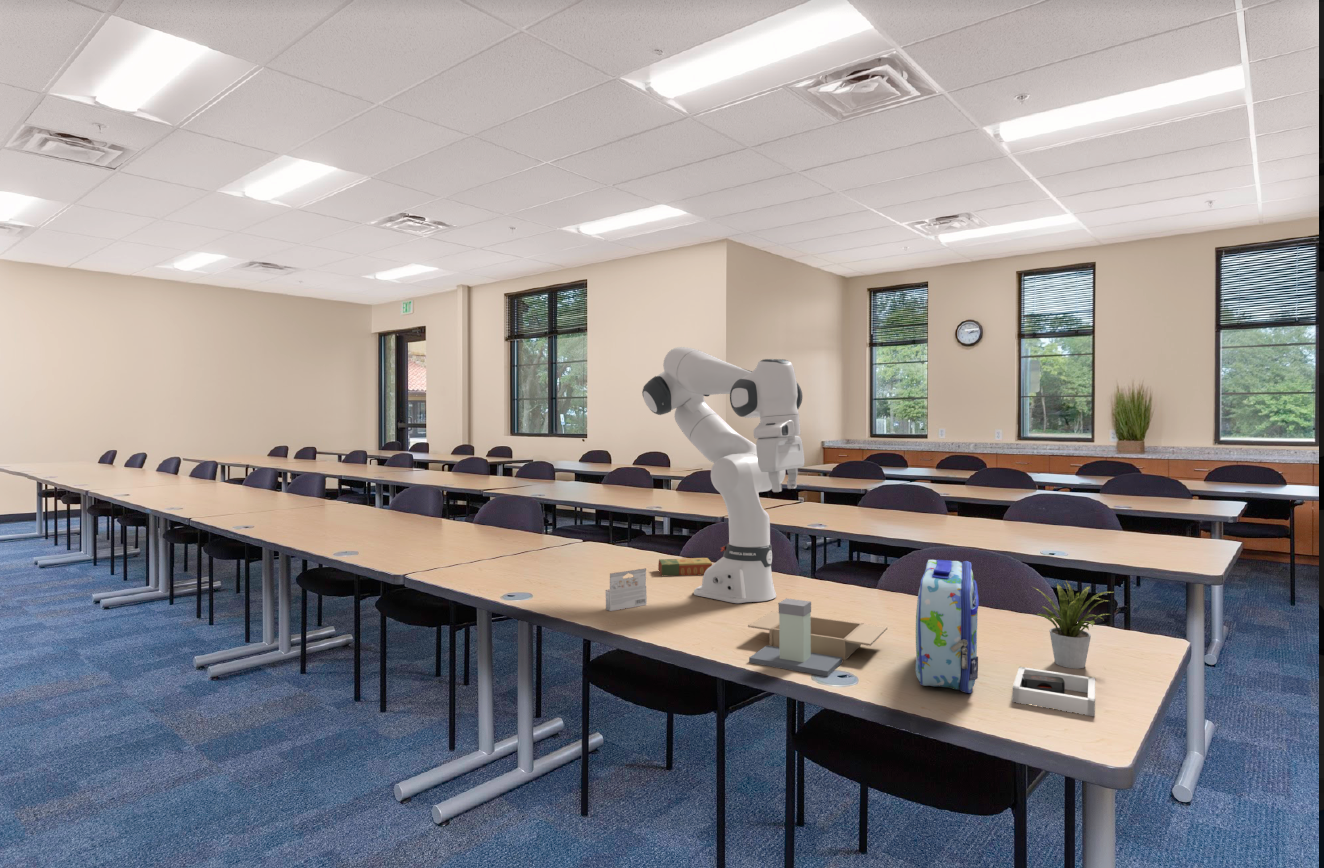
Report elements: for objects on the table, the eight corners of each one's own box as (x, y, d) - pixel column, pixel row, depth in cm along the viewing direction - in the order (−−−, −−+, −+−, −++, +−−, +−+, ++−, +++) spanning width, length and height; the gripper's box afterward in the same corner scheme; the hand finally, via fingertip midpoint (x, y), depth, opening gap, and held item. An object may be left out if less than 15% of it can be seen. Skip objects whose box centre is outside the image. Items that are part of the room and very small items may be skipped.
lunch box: (979, 703, 123) (979, 580, 123) (912, 694, 128) (912, 575, 127) (977, 656, 148) (977, 553, 147) (920, 650, 152) (920, 550, 151)
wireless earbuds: (1016, 691, 129) (1016, 673, 129) (1062, 696, 127) (1062, 677, 127) (1020, 701, 125) (1020, 682, 125) (1067, 706, 123) (1067, 686, 122)
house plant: (1138, 674, 136) (1139, 587, 136) (1079, 682, 133) (1080, 593, 132) (1075, 651, 150) (1075, 572, 150) (1020, 658, 146) (1020, 576, 146)
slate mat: (749, 662, 145) (749, 657, 145) (766, 650, 153) (766, 645, 153) (827, 676, 137) (827, 671, 137) (842, 662, 144) (842, 657, 144)
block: (778, 658, 144) (778, 603, 144) (786, 652, 148) (786, 598, 148) (804, 662, 141) (803, 606, 141) (811, 656, 145) (811, 601, 145)
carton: (712, 575, 226) (712, 562, 226) (661, 577, 225) (661, 563, 225) (707, 570, 235) (707, 556, 235) (658, 571, 233) (658, 558, 233)
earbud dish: (1012, 702, 124) (1012, 687, 124) (1019, 680, 134) (1019, 666, 134) (1094, 716, 118) (1094, 701, 117) (1095, 692, 128) (1095, 678, 128)
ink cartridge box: (605, 609, 186) (604, 571, 186) (642, 603, 192) (641, 566, 192) (609, 612, 184) (609, 573, 184) (647, 605, 190) (646, 568, 190)
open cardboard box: (747, 644, 157) (747, 625, 156) (772, 628, 168) (772, 610, 168) (870, 664, 143) (870, 644, 143) (887, 645, 155) (887, 626, 155)
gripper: (783, 429, 176) (787, 487, 176) (750, 430, 158) (754, 494, 158) (808, 427, 173) (813, 486, 172) (777, 428, 155) (782, 493, 155)
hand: (784, 490), depth 165 cm, fingers open, 8 cm apart
